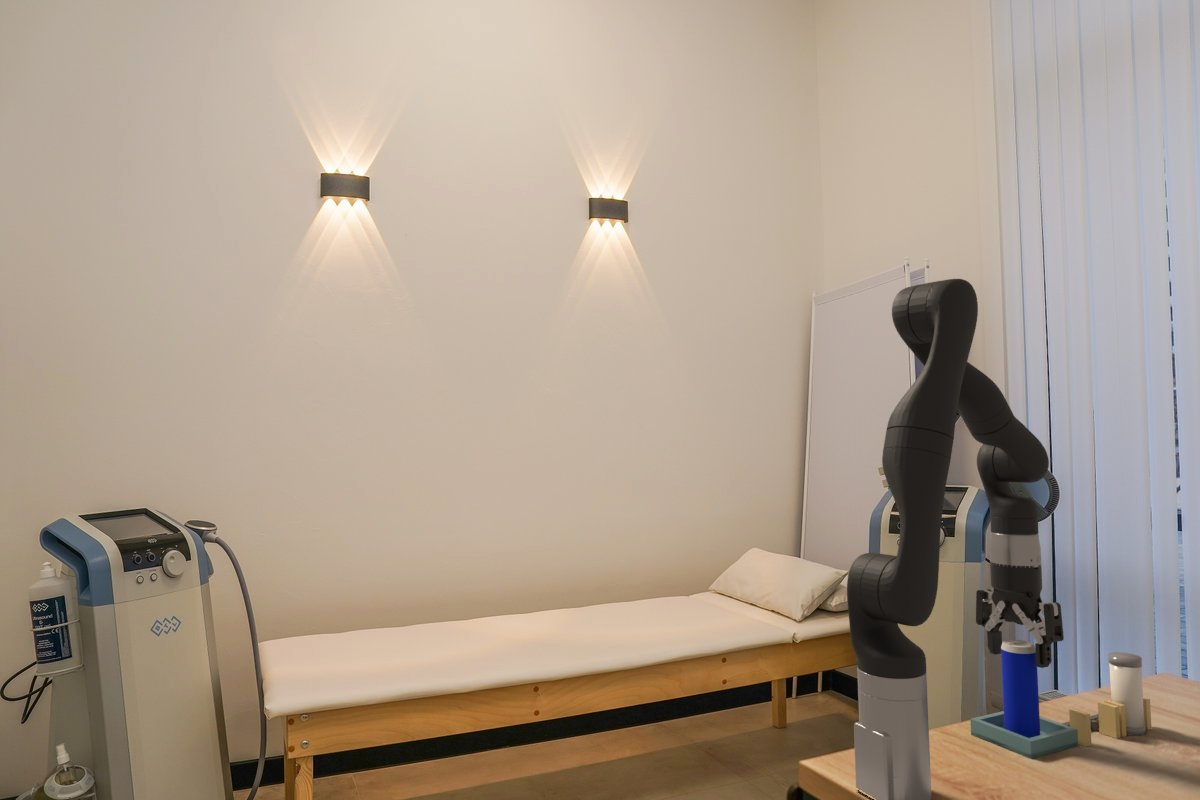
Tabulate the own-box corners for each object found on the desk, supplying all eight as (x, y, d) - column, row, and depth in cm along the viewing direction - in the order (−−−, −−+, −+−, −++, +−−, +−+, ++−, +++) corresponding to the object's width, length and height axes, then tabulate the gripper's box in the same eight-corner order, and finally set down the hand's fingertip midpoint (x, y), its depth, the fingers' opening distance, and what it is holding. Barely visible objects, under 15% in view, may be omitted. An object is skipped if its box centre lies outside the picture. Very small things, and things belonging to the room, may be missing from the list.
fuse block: (1085, 747, 124) (1084, 715, 124) (1052, 734, 129) (1050, 704, 130) (1151, 728, 131) (1149, 698, 131) (1117, 718, 136) (1115, 689, 136)
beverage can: (1031, 730, 130) (1027, 639, 130) (1046, 742, 125) (1042, 647, 125) (999, 729, 130) (995, 639, 131) (1012, 742, 125) (1008, 647, 126)
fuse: (1134, 737, 128) (1130, 661, 128) (1105, 727, 132) (1101, 654, 132) (1152, 732, 129) (1148, 657, 130) (1123, 723, 134) (1119, 651, 134)
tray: (1031, 758, 120) (1030, 741, 120) (971, 734, 130) (970, 718, 130) (1078, 745, 125) (1077, 729, 125) (1016, 723, 135) (1016, 708, 135)
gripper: (963, 556, 134) (966, 652, 133) (1039, 568, 121) (1043, 674, 120) (993, 553, 137) (997, 647, 136) (1071, 564, 124) (1075, 668, 123)
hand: (1018, 660), depth 128 cm, fingers open, 8 cm apart
